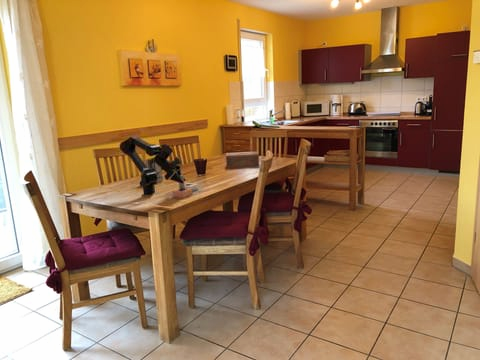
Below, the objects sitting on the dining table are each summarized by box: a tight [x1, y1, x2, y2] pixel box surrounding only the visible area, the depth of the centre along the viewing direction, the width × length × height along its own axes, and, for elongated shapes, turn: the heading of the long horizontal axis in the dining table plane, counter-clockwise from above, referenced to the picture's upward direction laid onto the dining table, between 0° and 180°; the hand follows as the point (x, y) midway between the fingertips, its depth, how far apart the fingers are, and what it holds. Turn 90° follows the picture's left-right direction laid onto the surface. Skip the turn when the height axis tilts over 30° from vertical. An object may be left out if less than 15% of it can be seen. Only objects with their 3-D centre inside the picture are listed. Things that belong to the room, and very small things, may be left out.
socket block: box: [184, 182, 199, 192], centre depth 234 cm, size 8×8×4 cm
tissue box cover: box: [225, 151, 260, 169], centre depth 313 cm, size 26×14×10 cm, turn 91°
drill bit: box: [178, 174, 185, 191], centre depth 222 cm, size 3×3×12 cm
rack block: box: [172, 187, 193, 198], centre depth 223 cm, size 8×8×4 cm
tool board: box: [162, 188, 207, 200], centre depth 229 cm, size 22×16×1 cm
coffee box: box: [144, 157, 164, 184], centre depth 267 cm, size 9×6×16 cm
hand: (184, 181), depth 222 cm, fingers open, 5 cm apart
